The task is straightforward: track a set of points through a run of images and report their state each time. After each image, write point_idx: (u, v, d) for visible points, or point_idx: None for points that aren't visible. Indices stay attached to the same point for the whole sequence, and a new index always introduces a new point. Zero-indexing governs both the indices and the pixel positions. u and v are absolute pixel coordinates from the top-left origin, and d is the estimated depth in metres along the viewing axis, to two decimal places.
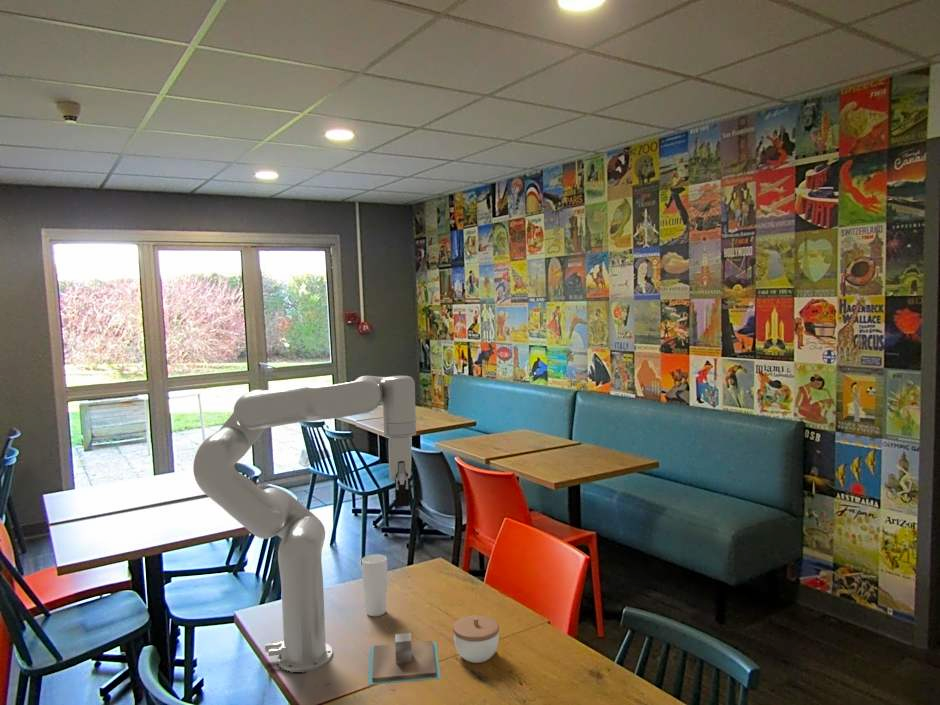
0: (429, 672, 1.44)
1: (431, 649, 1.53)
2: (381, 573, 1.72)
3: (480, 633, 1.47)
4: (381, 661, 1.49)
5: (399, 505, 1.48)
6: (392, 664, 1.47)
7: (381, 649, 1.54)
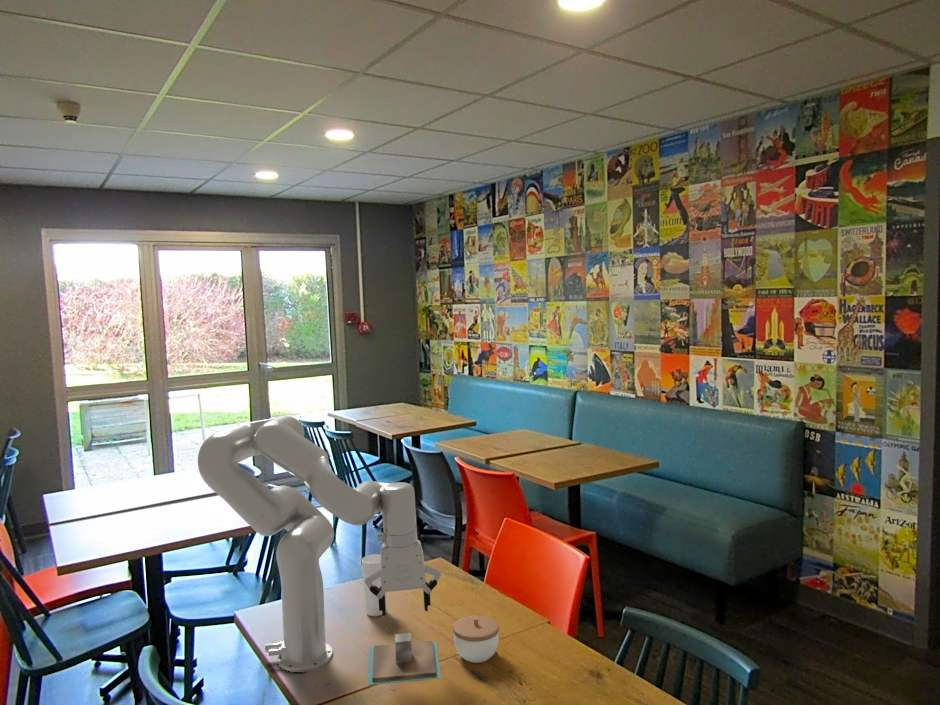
0: (429, 672, 1.44)
1: (431, 649, 1.53)
2: None
3: (480, 633, 1.47)
4: (381, 661, 1.49)
5: (427, 608, 1.49)
6: (392, 664, 1.47)
7: (381, 649, 1.54)
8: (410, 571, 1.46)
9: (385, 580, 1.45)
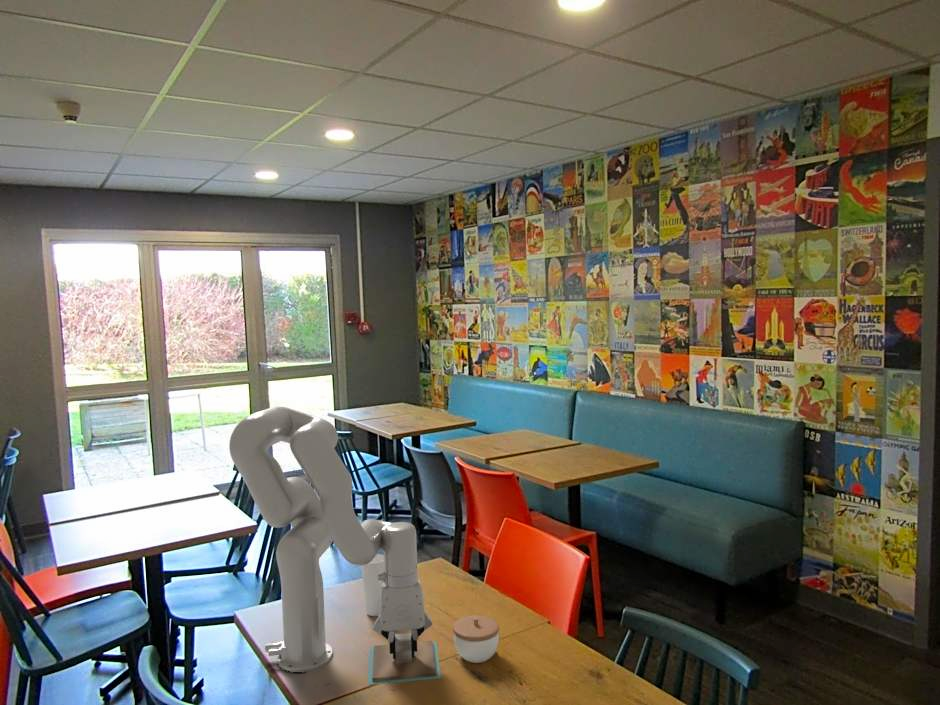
0: (429, 672, 1.44)
1: (431, 649, 1.53)
2: (381, 573, 1.72)
3: (480, 633, 1.47)
4: (381, 661, 1.49)
5: None
6: (392, 664, 1.47)
7: (381, 649, 1.54)
8: (410, 612, 1.46)
9: (384, 620, 1.46)
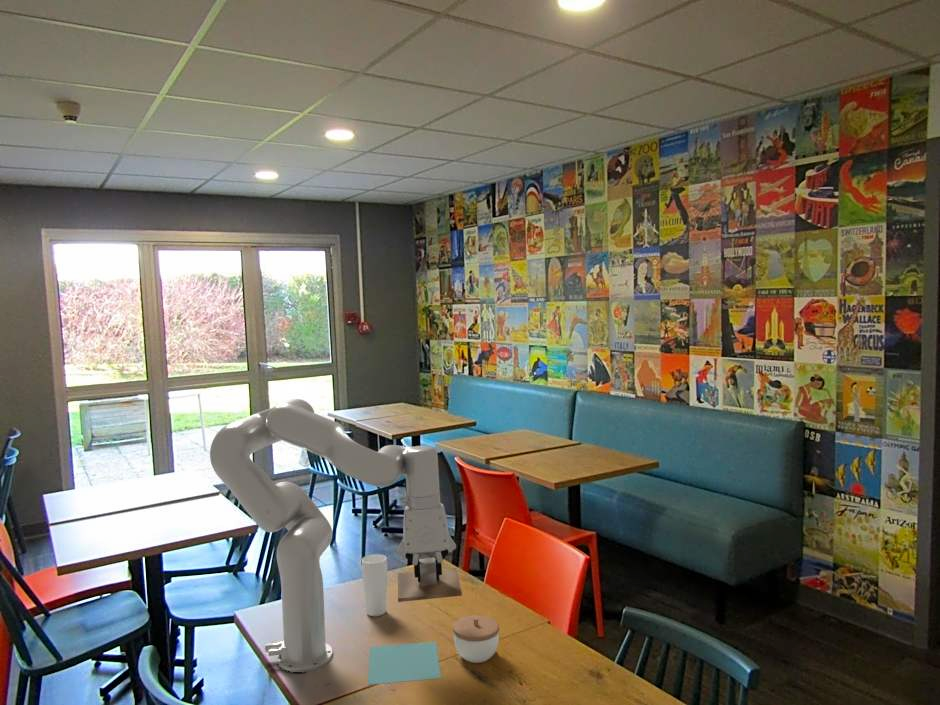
0: (455, 592, 1.43)
1: (455, 574, 1.53)
2: (381, 573, 1.72)
3: (480, 633, 1.47)
4: (406, 585, 1.48)
5: None
6: (417, 587, 1.47)
7: (406, 575, 1.54)
8: (433, 533, 1.46)
9: (408, 542, 1.45)
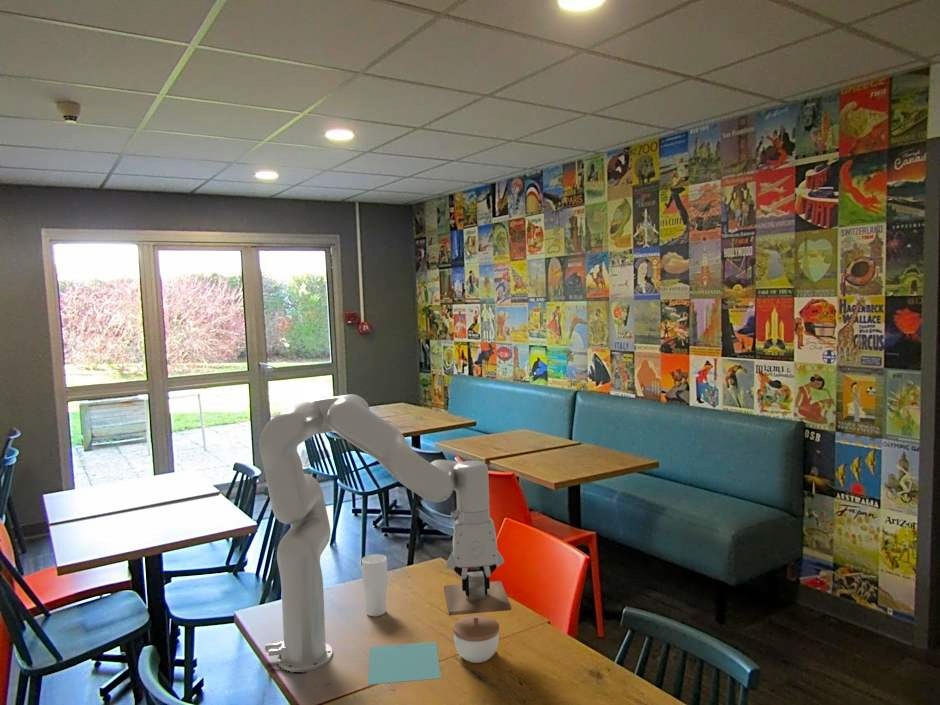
0: (504, 606, 1.45)
1: (501, 588, 1.55)
2: (381, 573, 1.72)
3: (480, 633, 1.47)
4: (454, 598, 1.50)
5: None
6: (466, 600, 1.48)
7: (452, 588, 1.55)
8: (483, 548, 1.48)
9: (458, 556, 1.47)
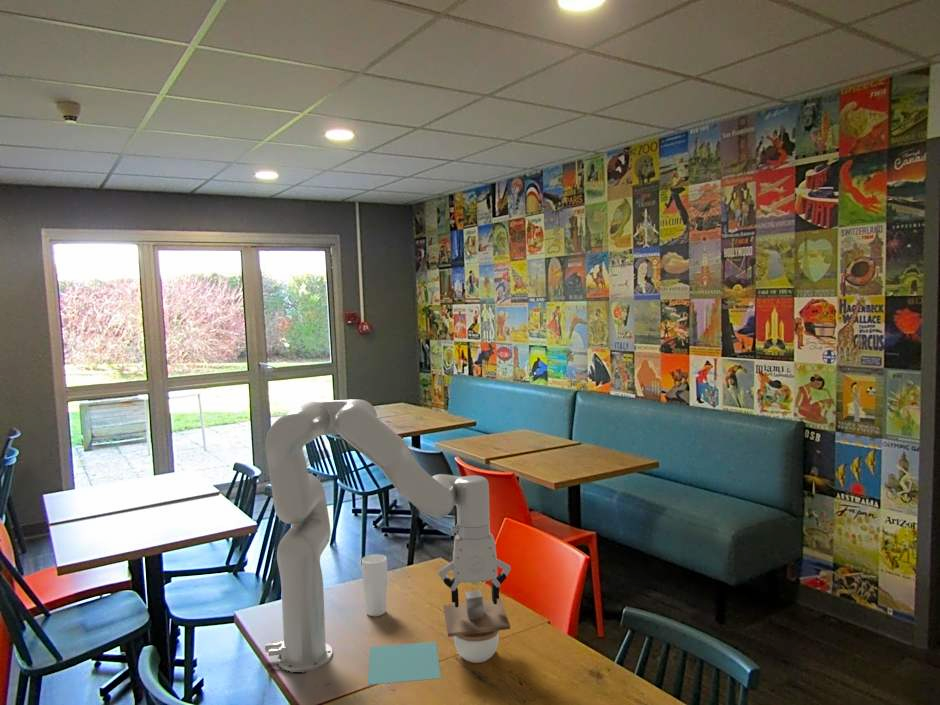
0: (503, 625, 1.45)
1: (501, 606, 1.55)
2: (381, 573, 1.72)
3: (480, 633, 1.47)
4: (453, 618, 1.50)
5: None
6: (465, 620, 1.49)
7: (451, 608, 1.56)
8: (483, 563, 1.48)
9: (458, 571, 1.47)
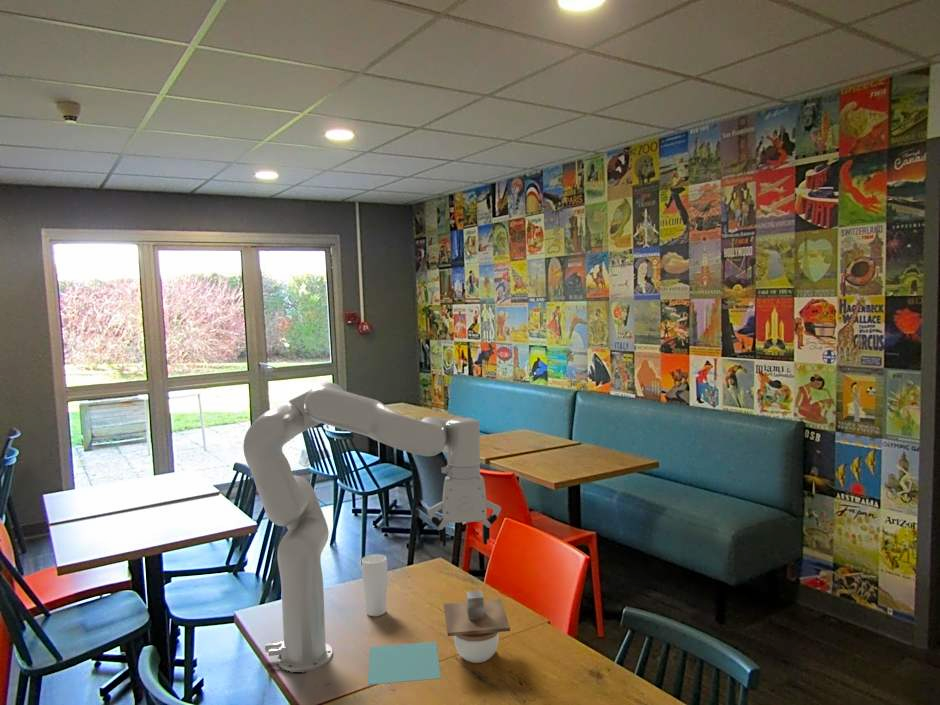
0: (503, 627, 1.45)
1: (501, 607, 1.55)
2: (381, 573, 1.72)
3: None
4: (453, 618, 1.50)
5: (486, 542, 1.52)
6: (465, 620, 1.49)
7: (452, 606, 1.56)
8: (472, 503, 1.49)
9: (448, 511, 1.49)
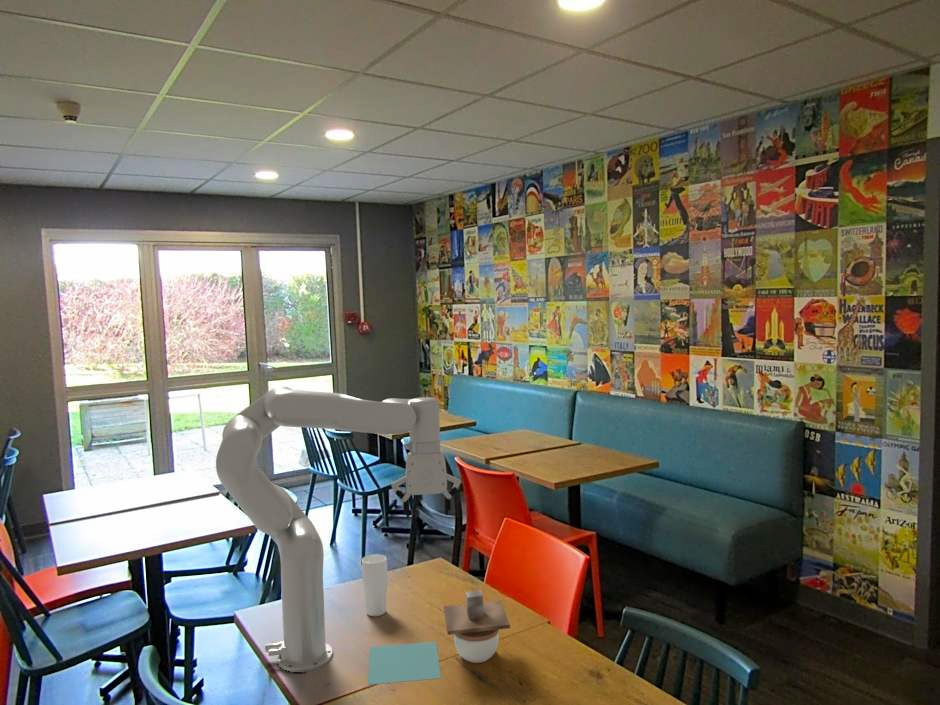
0: (503, 624, 1.45)
1: (501, 607, 1.55)
2: (381, 573, 1.72)
3: (480, 633, 1.47)
4: (453, 618, 1.50)
5: (447, 513, 1.62)
6: (465, 620, 1.49)
7: (452, 608, 1.56)
8: (433, 477, 1.59)
9: (410, 484, 1.59)
